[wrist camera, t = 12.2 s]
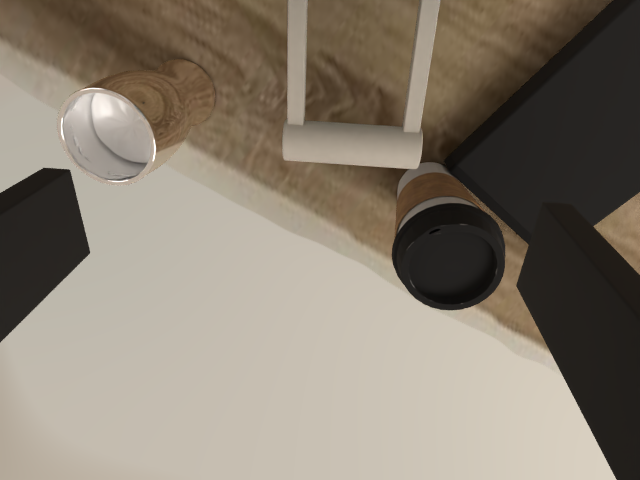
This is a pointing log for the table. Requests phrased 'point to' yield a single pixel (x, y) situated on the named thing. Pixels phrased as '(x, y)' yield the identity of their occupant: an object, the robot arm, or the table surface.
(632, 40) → the external hard drive
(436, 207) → the coffee cup
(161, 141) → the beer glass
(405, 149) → the bread box lid
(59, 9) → the table surface
